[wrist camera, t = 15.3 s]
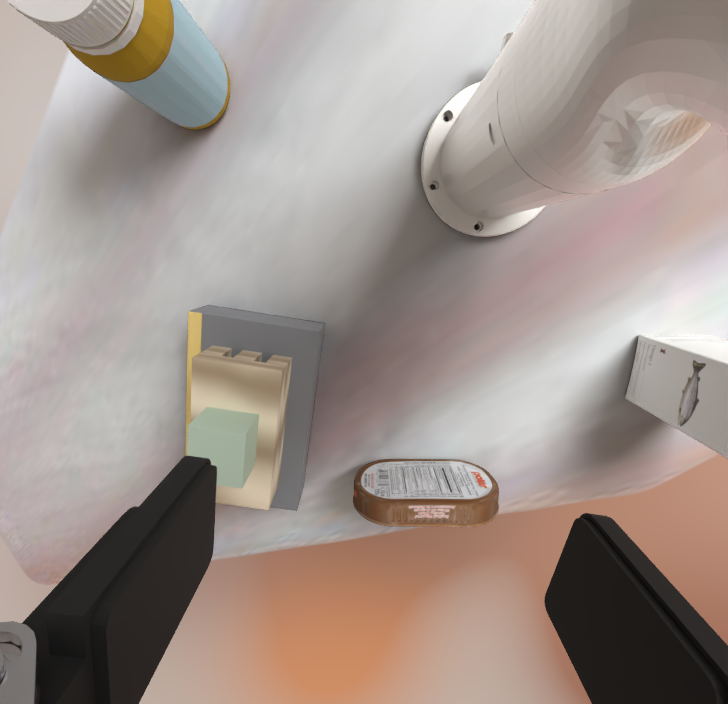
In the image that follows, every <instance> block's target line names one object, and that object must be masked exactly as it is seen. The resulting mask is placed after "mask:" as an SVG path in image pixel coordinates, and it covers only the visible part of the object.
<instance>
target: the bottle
mask: <svg viewBox="0 0 728 704" xmlns="http://www.w3.org/2000/svg"><path fill="white" fill-rule="evenodd" d="M7 1H8V2H9V3H10V5H12V6H13V7H14V8H16V9H17V11H19V12H20V13H22V14H23V15H24V16H26V17H27V18H29V19H30V20H32V21H33V22H35V23H36V24H38V25H39V26H40V27H42V28H43V29H45V30H46V31H48V32H49V33H51V34H52V35H54V36H55V37H58V38H59V39H60V40H63V42H64V43H65V44H66V46H67V47H68V48H69V50H70V51H71V52H72V53H73V54H74V55H75V56H76V57H77V58H78V59H79V60H80V61H81V62H82V63H83V64H84V65H86V66H87V67H89V68H90V69H91V70H93V71H94V72H96V73H97V74H99V75H100V76H102V77H103V78H105V79H106V80H108V81H109V82H111V83H112V84H114V85H115V86H117V87H118V88H120V89H122V90H123V91H125V92H126V93H128V94H129V95H131V96H132V97H134V98H135V99H137V100H138V101H140V102H142V103H143V104H145V105H146V106H148V107H149V108H151V109H152V110H154V111H155V112H157V113H158V114H160V115H161V116H163V117H165V118H166V119H168V120H169V121H171V122H173V123H175V124H177V125H179V126H181V127H183V128H187V129H194V130H196V129H202V128H206V127H209V126H210V125H212V124H213V123H215V122H216V121H217V120H218V119H219V118H220V117H221V116H222V114H223V113H224V111H225V110H226V107H227V104H228V101H229V97H230V79H229V75H228V71H227V67H226V65H225V63H224V61H223V60H222V58H221V56H220V54H219V53H218V51H217V50H216V48H215V47H214V46H213V44H212V43H211V42H210V40H209V39H208V38H207V37H206V35H205V34H204V33H203V31H202V30H201V29H200V27H199V26H198V25H197V23H196V22H195V21H194V19H193V18H192V17H191V15H190V14H189V13H188V11H187V10H186V9H185V8H184V6H183V5H182V4H181V2H180V1H179V0H7Z"/></svg>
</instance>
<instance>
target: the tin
mask: <svg viewBox="0 0 728 704" xmlns="http://www.w3.org/2000/svg"><path fill="white" fill-rule="evenodd" d="M498 496H499V488H498V484H497V482H496V481H495V479H494V478H493V477H492V476H491V475H490V473H489V472H487V471H486V470H485V469H483V468H482V467H480V466H477V465H475V464H472V463H469V462H465V461H461V460H438V459H388V460H379V461H375V462H372V463H369V464H367V465H365V466H364V467H363V468H361V469H360V470H359V471H358V473H357V475H356V477H355V480H354V497H353V503H354V506H355V508H356V510H357V511H358V513H359V514H360V515H361V516H362V517H364V518H366V519H367V520H369V521H371V522H374V523H376V524H380V525H385V526H414V527H417V526H422V527H476V526H480V525H484V524H486V523H488V522H490V521H491V520H493V519H494V518H495V517H496V515H497V513H498V510H499V505H498Z"/></svg>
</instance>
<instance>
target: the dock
mask: <svg viewBox="0 0 728 704" xmlns="http://www.w3.org/2000/svg"><path fill="white" fill-rule="evenodd" d="M324 325H325V323H320V322H313V321H307V320H301V319H294V318H288V317H282V316H275V315H269V314H263V313H256V312H250V311H244V310H237V309H231V308H225V307H218V306H212V305H206V306H203V307H200V308H198V309H195V310H192V311H189V312H188V349H187V397H186V446H185V456H187V432H188V425H189V424H190V423H191V380H192V358H193V357H194V356H196V355H198V354H199V353H201V352H202V351H204V350H206V349H207V348H209V347H211V346H212V345H213V346H220V347H226V348H232V353H231V358H233V357H235V356H236V355H237V354H239V353H240V352H241V351H242V350H246V351H252V352H259V353H262V360H261V362H264V363H266V362H267V361H268V360H269V359H270V358H271V356H272V355H279V356H285V357H292V364H291V373H290V383H289V392H288V402H287V411H286V421H285V430H284V440H283V449H282V459H281V468H280V478H279V484H278V487H277V490H276V492H275V495H274V497H273V500H272V503H271V505H270V507H273V508H280V509H287V510H295V511H297V509H298V505H299V501H300V498H301V494H302V490H303V487H304V479H305V471H306V464H307V456H308V448H309V441H310V433H311V425H312V417H313V410H314V402H315V394H316V387H317V379H318V371H319V363H320V356H321V348H322V340H323V333H324Z"/></svg>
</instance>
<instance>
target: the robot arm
mask: <svg viewBox="0 0 728 704" xmlns="http://www.w3.org/2000/svg"><path fill="white" fill-rule="evenodd" d="M444 117H447V118H448V120H449V121H448V122H446V121H444V119H443V118H444ZM712 124H713V125H714V126H716V127H717V128H718V129H719V130H720V131H722V132H723V133H724V134H725V135H726V136H728V0H535V1H534V3H533V5H532V6H531V8H530V9H529V11H528V12H527V14H526V15H525V17H524V18H523V20H522V21H521V23H520V24H519V26H518V27H517V29H516V30H515V32H514V33H509V34H506V35H505V36H504V39H503V44H502V48H501V53H500V54H499V56H498V57H497V59H496V60H495V62H494V63H493V65H492V66H491V68H490V69H489V71H488V72H487V74H486V75H485V77H484V78H483V80H482V81H479V82H477V83H474V84H472V85H470V86H468V87H466V88H464V89H463V90H462V91H460V92H459V93H457V94H456V95H454V96H453V97H452V98H451V99H450V100H449V101H448V102H447V103H446V104H445V105H444V106H443V108H442V109H441V111H440V112H439V114H438V115H437V116H436V118H435V119H434V121H433V123H432V125H431V127H430V129H429V131H428V134H427V137H426V140H425V142H424V146H423V152H422V157H421V177H422V183H423V188H424V191H425V194H426V196H427V199H428V201H429V203H430V205H431V206H432V208H433V210H434V211H435V213H436V214H437V215H438V216H439V217H440V218H441V219H442V220H443V221H444V222H445V223H446V224H448V225H449V226H451V227H452V228H453V229H455V230H458V231H460V232H462V233H464V234H468V235H472V236H477V237H491V236H499V235H502V234H506V233H509V232H513V231H515V230H517V229H519V228H521V227H523V226H525V225H526V224H527V223H529V222H530V221H531V220H533V219H534V218H535V217H536V216H537V215H538V214H539V213H540V212H541V211H543V210H544V208H545V207H546V206H547V205H551V204H555V203H559V202H563V201H566V200H570V199H574V198H578V197H582V196H586V195H590V194H594V193H598V192H602V191H606V190H609V189H612V188H616V187H620V186H623V185H626V184H629V183H631V182H634V181H637V180H639V179H642V178H644V177H646V176H648V175H650V174H652V173H654V172H656V171H658V170H659V169H661V168H663V167H664V166H666V165H667V164H669V163H670V162H672V161H673V160H674V159H676V158H677V157H678V156H679V155H681V154H682V153H683V152H684V151H686V150H687V149H688V148H689V147H690V146H692V145H693V144H694V143H695V142H696V141H697V140H698V139H699V138H700V137H701V136H702V135H703V134H704V133H705V132H706V131H707V130H708V128H709V127H710V126H711V125H712ZM432 184H433V185H435V190H431V188H430V186H431V185H432ZM476 224H477V225H478V229H477V230H475V229H474V226H475V225H476ZM216 484H217V467H216V466H214V465H211V461H210V459H208V458H202V457H195V456H188V455H187V456H185V457H184V458H182V459H181V461H180V462H179V463H178V464H177V465H176V466H175V467H174V468H173V470H172V471H171V472H170V473H169V474H168V475H167V476H166V477H165V478H164V480H163V481H162V482H161V483H160V484H159V485H158V486H157V487H156V488H155V490H154V491H153V492H152V493H151V494H150V495H149V496H148V497H147V498H146V500H145V501H144V502H143V503H142V504H141V505H140V506H139V507H132V508H130V509H129V510H128V511H127V512H125V513H124V514H123V515H122V516H121V517H120V519H119V520H118V521H117V522H116V523H115V524H114V525H113V526H112V527H111V528H110V529H109V530H108V531H107V533H106V534H105V535H104V536H103V537H102V538H101V539H100V540H99V541H98V542H97V543H96V544H95V545H94V546H93V548H92V549H91V550H90V551H89V552H88V553H87V554H86V555H85V556H84V557H83V558H82V559H81V560H80V561H79V563H78V564H77V565H76V566H75V567H74V568H73V569H72V570H71V571H70V572H69V573H68V574H67V575H66V577H65V578H64V579H63V580H62V581H61V582H60V583H59V584H58V585H57V586H56V587H55V588H54V589H53V590H52V592H51V593H50V594H49V595H48V596H47V597H46V598H45V599H44V600H43V601H42V602H41V603H40V605H39V606H38V607H37V608H36V609H35V610H34V611H33V612H32V613H31V614H30V615H29V617H27V619H26V620H25V621H24V622H23V623H18V622H13V621H12V622H1V623H0V704H139V702H140V700H141V698H142V696H143V694H144V692H145V690H146V688H147V686H148V684H149V682H150V680H151V678H152V676H153V674H154V672H155V670H156V668H157V666H158V665H159V662H160V661H161V659H162V657H163V655H164V653H165V651H166V649H167V647H168V645H169V643H170V641H171V639H172V637H173V635H174V633H175V631H176V629H177V627H178V625H179V623H180V621H181V619H182V617H183V615H184V613H185V611H186V609H187V607H188V606H189V604H190V602H191V600H192V598H193V596H194V594H195V592H196V590H197V588H198V586H199V584H200V582H201V580H202V578H203V576H204V574H205V572H206V570H207V568H208V566H209V564H210V561H211V558H212V554H213V544H214V524H215V504H216ZM545 607H546V611H547V613H548V615H549V617H550V619H551V621H552V623H553V625H554V627H555V629H556V631H557V633H558V636H559V637H560V639H561V642H562V644H563V646H564V648H565V650H566V652H567V654H568V656H569V658H570V660H571V662H572V664H573V666H574V668H575V670H576V672H577V674H578V676H579V678H580V680H581V682H582V684H583V686H584V688H585V690H586V692H587V694H588V696H589V698H590V701H591V702H592V704H728V646H727V644H726V643H725V642H724V641H723V640H722V639H721V638H720V637H719V636H718V635H717V633H716V632H715V631H714V630H713V629H712V628H711V627H710V626H709V625H708V624H707V622H706V621H705V620H704V619H703V618H702V617H701V616H700V615H699V614H698V613H697V611H696V610H695V609H694V608H693V607H692V606H691V605H690V604H689V603H688V602H687V600H686V599H685V598H684V597H683V596H682V595H681V594H680V593H679V592H678V591H677V589H675V587H674V586H673V585H672V584H671V583H670V582H669V581H668V580H667V578H666V577H665V576H664V575H663V574H662V573H661V572H660V571H659V570H658V569H657V568H656V566H655V565H654V564H653V563H652V562H651V561H650V560H649V559H648V557H647V556H646V555H645V554H644V553H643V552H642V551H641V550H640V549H639V548H638V546H637V545H636V544H635V543H634V542H633V541H632V540H631V539H630V538H629V537H628V536H627V534H626V533H625V532H624V531H623V530H622V529H621V528H620V527H619V526H618V525H617V523H616V522H615V521H614V520H613V519H612V518H610V517H607V516H602V515H595V514H588V513H585V514H583V515H581V516H580V518H577V519H576V520H575V521H574V523H573V526H572V528H571V531H570V533H569V536H568V538H567V541H566V544H565V546H564V549H563V551H562V554H561V556H560V559H559V562H558V564H557V566H556V569H555V572H554V574H553V577H552V579H551V582H550V585H549V587H548V589H547V592H546V595H545Z"/></svg>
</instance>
